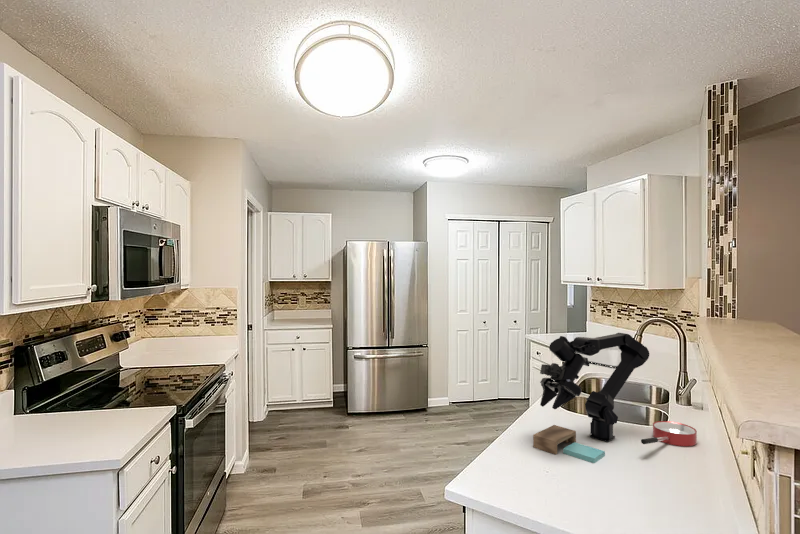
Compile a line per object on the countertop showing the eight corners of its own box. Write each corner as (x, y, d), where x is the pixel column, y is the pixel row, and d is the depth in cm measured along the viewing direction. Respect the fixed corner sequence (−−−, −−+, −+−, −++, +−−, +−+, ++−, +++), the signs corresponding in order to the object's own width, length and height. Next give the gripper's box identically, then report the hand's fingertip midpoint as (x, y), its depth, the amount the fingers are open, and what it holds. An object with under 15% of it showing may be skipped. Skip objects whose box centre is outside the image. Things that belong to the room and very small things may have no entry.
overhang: (575, 443, 148) (575, 430, 148) (555, 454, 138) (555, 441, 138) (554, 436, 154) (554, 424, 154) (533, 447, 144) (533, 434, 144)
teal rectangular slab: (604, 457, 138) (604, 451, 138) (594, 464, 132) (594, 458, 132) (574, 448, 145) (574, 442, 145) (563, 454, 140) (563, 448, 140)
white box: (647, 365, 272) (647, 342, 272) (620, 371, 257) (620, 346, 257) (598, 356, 301) (598, 335, 301) (571, 361, 286) (571, 338, 287)
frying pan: (676, 469, 129) (676, 447, 129) (629, 455, 138) (629, 435, 138) (700, 440, 151) (700, 421, 151) (658, 430, 160) (658, 413, 161)
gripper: (539, 355, 157) (517, 390, 154) (564, 354, 139) (539, 394, 136) (564, 373, 157) (542, 409, 153) (592, 375, 139) (568, 416, 135)
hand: (547, 407), depth 144 cm, fingers open, 9 cm apart
